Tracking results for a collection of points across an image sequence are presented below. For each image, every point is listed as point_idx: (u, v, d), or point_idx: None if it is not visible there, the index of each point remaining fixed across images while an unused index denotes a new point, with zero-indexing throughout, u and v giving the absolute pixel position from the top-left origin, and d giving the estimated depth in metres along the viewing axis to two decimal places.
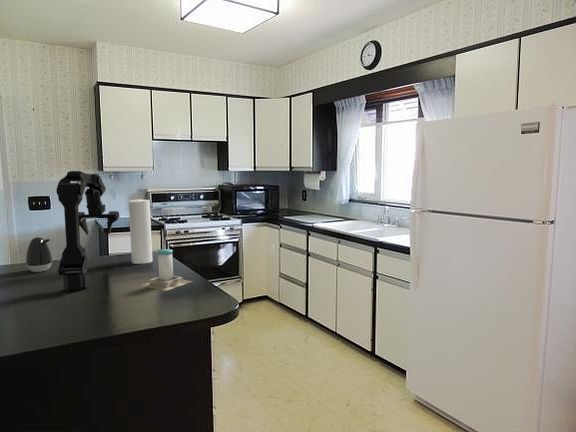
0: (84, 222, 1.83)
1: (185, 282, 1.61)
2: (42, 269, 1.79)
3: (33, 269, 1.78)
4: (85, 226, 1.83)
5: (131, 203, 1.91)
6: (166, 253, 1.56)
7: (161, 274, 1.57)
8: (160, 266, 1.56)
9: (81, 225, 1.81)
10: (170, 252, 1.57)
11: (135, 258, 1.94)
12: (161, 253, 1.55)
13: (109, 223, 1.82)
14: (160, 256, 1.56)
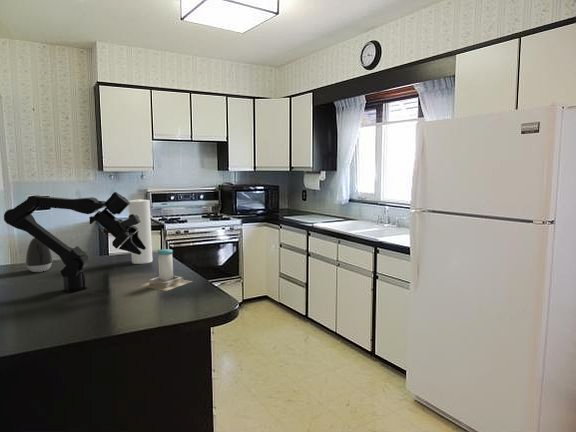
0: (132, 239, 1.60)
1: (185, 282, 1.61)
2: (42, 269, 1.79)
3: (33, 269, 1.78)
4: (135, 242, 1.60)
5: (131, 203, 1.91)
6: (166, 253, 1.56)
7: (161, 274, 1.57)
8: (160, 266, 1.56)
9: None
10: (170, 252, 1.57)
11: (135, 258, 1.94)
12: (161, 253, 1.55)
13: None
14: (160, 256, 1.56)
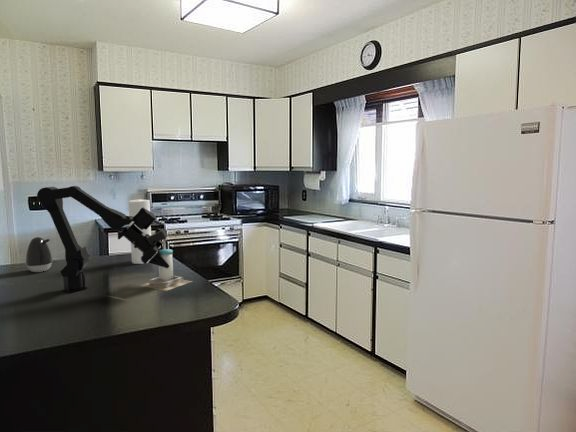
0: None
1: (185, 282, 1.61)
2: (42, 269, 1.79)
3: (33, 269, 1.78)
4: None
5: (131, 203, 1.91)
6: (166, 253, 1.56)
7: (161, 274, 1.57)
8: (160, 266, 1.56)
9: None
10: (170, 252, 1.57)
11: (135, 258, 1.94)
12: (161, 253, 1.55)
13: None
14: None
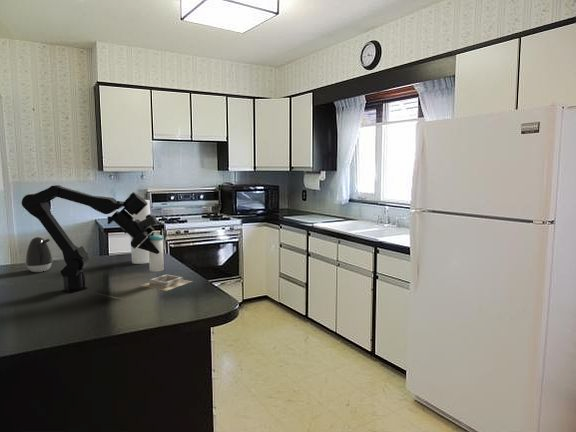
0: None
1: (185, 282, 1.61)
2: (42, 269, 1.79)
3: (33, 269, 1.78)
4: None
5: None
6: (156, 239, 1.54)
7: (151, 260, 1.55)
8: (150, 252, 1.55)
9: None
10: (160, 238, 1.55)
11: (135, 258, 1.94)
12: (151, 239, 1.54)
13: None
14: None
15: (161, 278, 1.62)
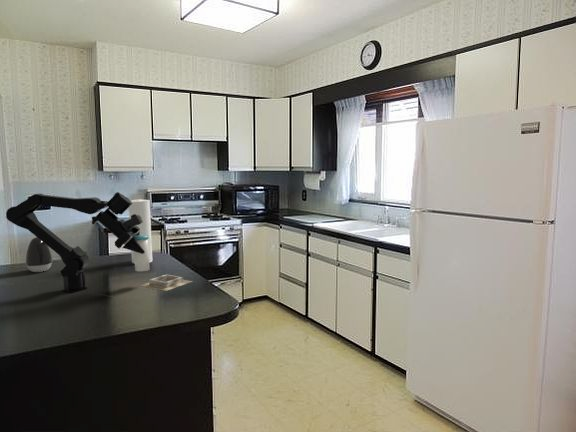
0: None
1: (185, 282, 1.61)
2: (42, 269, 1.79)
3: (33, 269, 1.78)
4: None
5: None
6: (141, 238, 1.53)
7: (136, 260, 1.54)
8: (135, 252, 1.54)
9: None
10: (146, 238, 1.54)
11: None
12: (136, 238, 1.53)
13: None
14: None
15: (161, 278, 1.62)
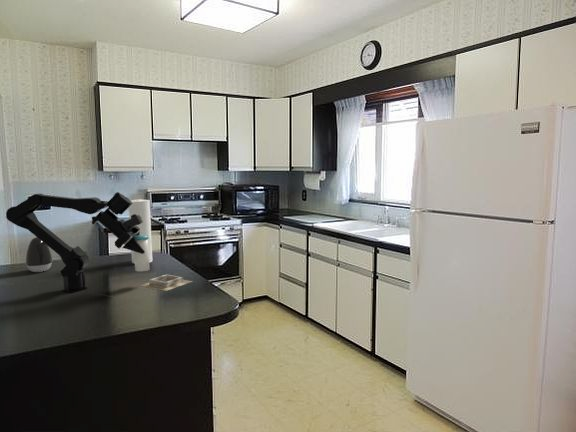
0: None
1: (185, 282, 1.61)
2: (42, 269, 1.79)
3: (33, 269, 1.78)
4: None
5: None
6: (141, 238, 1.53)
7: (136, 260, 1.54)
8: (135, 252, 1.54)
9: None
10: (146, 238, 1.54)
11: None
12: (136, 238, 1.53)
13: None
14: None
15: (161, 278, 1.62)
